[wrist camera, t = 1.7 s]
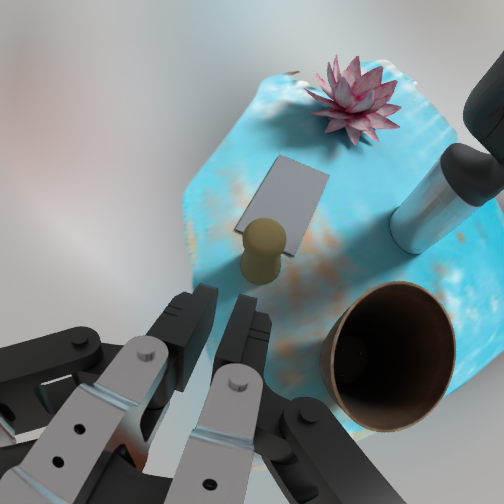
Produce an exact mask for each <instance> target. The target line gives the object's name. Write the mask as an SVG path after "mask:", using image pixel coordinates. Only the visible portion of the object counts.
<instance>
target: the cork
mask: <svg viewBox="0 0 504 504" xmlns="http://www.w3.org/2000/svg"><path fill="white" fill-rule="evenodd" d="M286 242H287V238H286V233H285V230H284V228H283V227H282V226H281V225H280V224H279V223H278V222H277V221H275V220H273V219H270V218H259V219H256V220H253V221H252V222H251V223H249V224H248V226H247V227H246V229H245V230H244V233H243V246H244V248H245V250H244V253H243V256H242V259H241V263H240V266H241V271H242V273H243V276H244V277H245V278H246V279H247V280H248V281H250V282H252V283H255V284H259V285H260V284H267V283H269V282H272V281H273V280H274V279H275V278H276V277H277V276H278V274H279V272H280V267H281V259H280V255H281V254H282V252H283V250H284V249H285V246H286Z"/></svg>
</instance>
